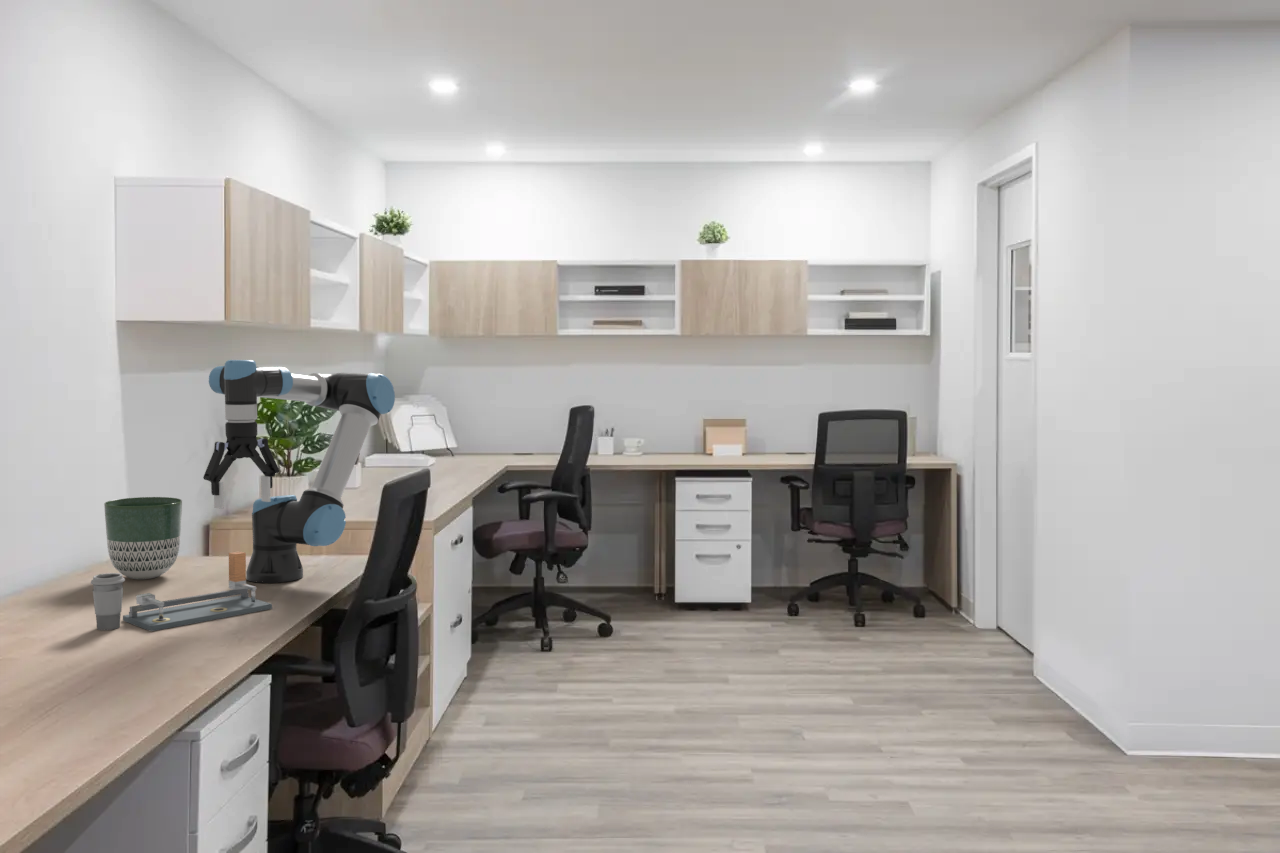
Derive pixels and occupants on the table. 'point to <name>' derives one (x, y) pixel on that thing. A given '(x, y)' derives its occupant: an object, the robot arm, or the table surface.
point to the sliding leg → (239, 573)
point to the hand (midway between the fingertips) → (243, 504)
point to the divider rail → (177, 601)
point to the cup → (108, 600)
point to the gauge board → (196, 612)
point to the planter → (143, 535)
